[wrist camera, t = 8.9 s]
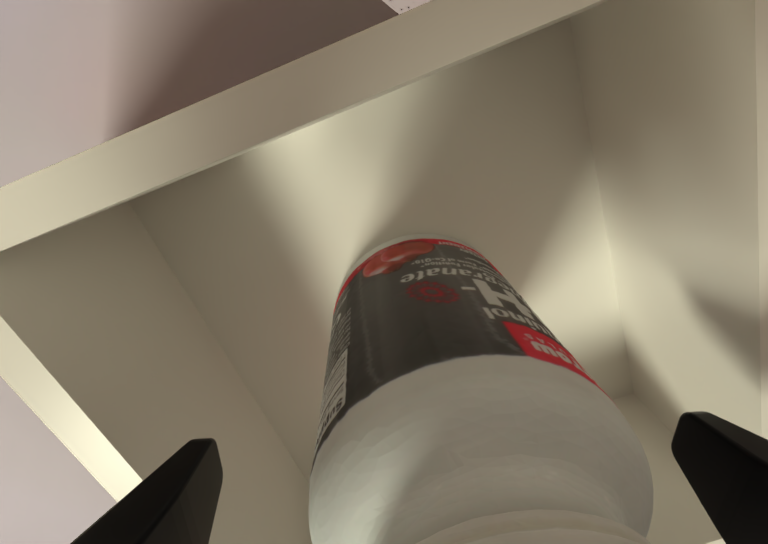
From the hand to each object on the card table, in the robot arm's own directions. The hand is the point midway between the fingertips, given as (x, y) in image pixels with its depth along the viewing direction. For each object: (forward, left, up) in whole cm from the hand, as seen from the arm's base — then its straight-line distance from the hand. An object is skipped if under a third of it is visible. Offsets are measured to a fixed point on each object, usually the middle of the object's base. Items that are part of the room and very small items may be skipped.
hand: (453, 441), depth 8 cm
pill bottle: (0, 0, -6) cm, 6 cm away
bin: (0, 0, -6) cm, 6 cm away
